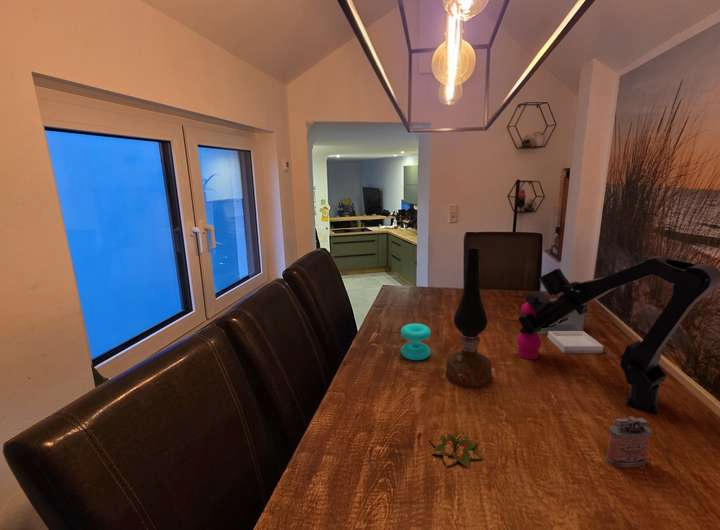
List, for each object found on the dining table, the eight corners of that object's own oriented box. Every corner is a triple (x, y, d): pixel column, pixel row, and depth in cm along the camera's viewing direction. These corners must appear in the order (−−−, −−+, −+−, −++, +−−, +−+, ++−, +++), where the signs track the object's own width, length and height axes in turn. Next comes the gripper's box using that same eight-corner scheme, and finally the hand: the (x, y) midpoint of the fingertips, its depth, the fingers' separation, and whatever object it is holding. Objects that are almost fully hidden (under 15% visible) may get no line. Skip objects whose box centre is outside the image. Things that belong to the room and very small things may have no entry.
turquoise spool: (434, 332, 120) (403, 334, 119) (433, 360, 122) (404, 362, 122) (426, 321, 130) (398, 323, 129) (426, 347, 132) (398, 349, 131)
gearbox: (582, 333, 140) (586, 300, 137) (539, 333, 140) (541, 301, 138) (566, 321, 151) (570, 291, 148) (526, 322, 152) (529, 291, 149)
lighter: (638, 453, 79) (644, 412, 77) (650, 465, 76) (658, 423, 74) (601, 455, 79) (607, 414, 77) (612, 467, 76) (618, 425, 74)
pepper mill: (542, 360, 120) (547, 302, 115) (518, 359, 121) (522, 301, 117) (536, 350, 127) (540, 295, 122) (514, 349, 128) (517, 294, 124)
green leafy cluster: (442, 478, 75) (442, 458, 74) (419, 439, 87) (419, 422, 86) (494, 465, 78) (495, 447, 77) (465, 429, 89) (466, 413, 88)
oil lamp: (461, 371, 122) (453, 250, 122) (505, 379, 111) (497, 247, 110) (436, 382, 113) (428, 251, 112) (482, 393, 101) (473, 248, 101)
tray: (602, 353, 124) (603, 346, 123) (564, 353, 125) (564, 346, 124) (582, 337, 136) (583, 331, 136) (547, 337, 137) (548, 331, 136)
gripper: (562, 280, 120) (529, 304, 132) (525, 290, 111) (493, 314, 122) (584, 310, 115) (548, 331, 127) (548, 323, 106) (512, 345, 117)
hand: (525, 330), depth 123 cm, fingers closed on pepper mill, 5 cm apart
